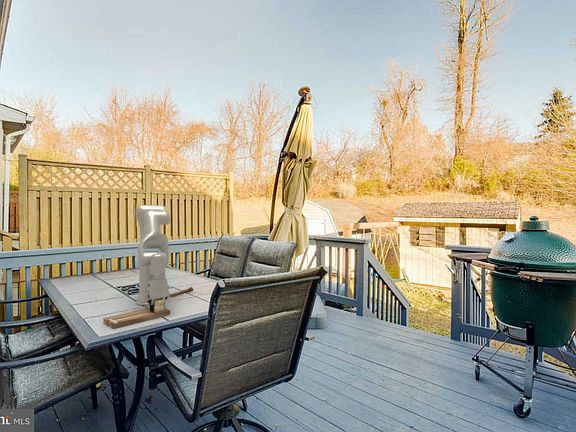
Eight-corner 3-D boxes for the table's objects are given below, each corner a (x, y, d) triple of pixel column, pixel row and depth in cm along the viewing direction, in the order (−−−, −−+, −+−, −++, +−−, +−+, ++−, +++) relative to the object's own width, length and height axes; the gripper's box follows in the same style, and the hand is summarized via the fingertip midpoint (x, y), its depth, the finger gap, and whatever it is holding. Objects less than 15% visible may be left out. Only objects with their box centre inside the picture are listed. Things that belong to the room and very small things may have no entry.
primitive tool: (172, 298, 205) (172, 292, 205) (166, 296, 208) (166, 291, 208) (194, 292, 222) (194, 287, 222) (188, 291, 225) (188, 286, 225)
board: (103, 323, 156) (103, 318, 156) (158, 310, 178) (158, 305, 178) (113, 329, 148) (113, 323, 148) (170, 314, 171) (170, 310, 171)
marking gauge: (148, 309, 170) (149, 298, 170) (157, 307, 174) (157, 296, 174) (156, 313, 165) (156, 301, 165) (165, 310, 169) (165, 299, 169)
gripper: (145, 280, 160) (145, 315, 160) (175, 275, 173) (175, 308, 174) (138, 277, 165) (137, 312, 165) (168, 273, 178) (167, 305, 178)
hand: (157, 310), depth 169 cm, fingers closed on marking gauge, 5 cm apart
